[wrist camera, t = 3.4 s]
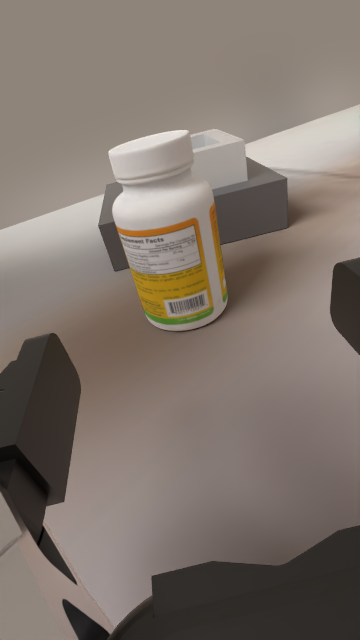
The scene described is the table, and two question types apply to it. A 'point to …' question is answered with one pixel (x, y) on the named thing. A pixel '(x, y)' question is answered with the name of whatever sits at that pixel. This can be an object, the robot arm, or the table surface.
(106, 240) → the square bottle holder
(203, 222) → the supplement bottle
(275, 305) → the table surface
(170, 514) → the table surface
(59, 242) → the table surface
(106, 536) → the table surface
